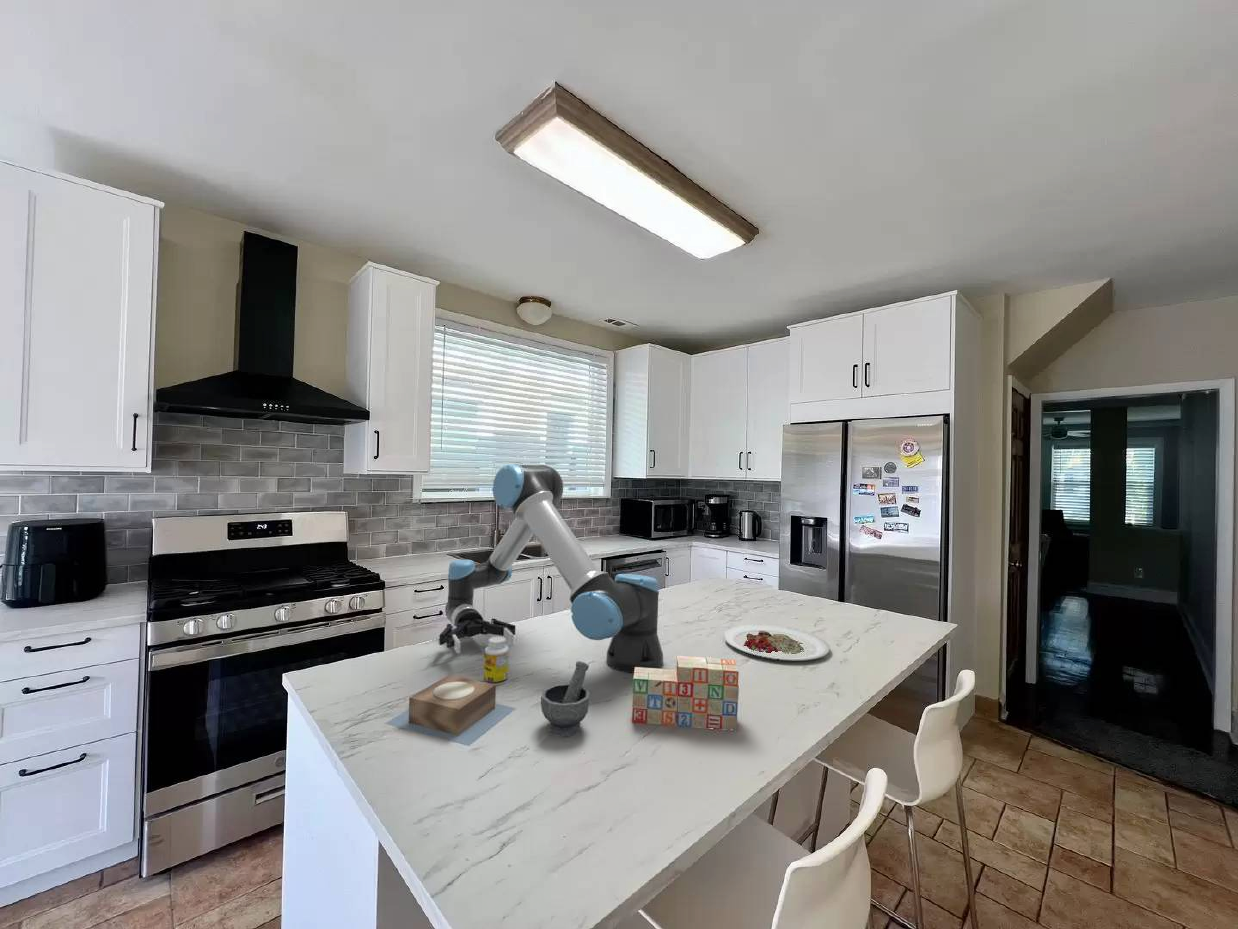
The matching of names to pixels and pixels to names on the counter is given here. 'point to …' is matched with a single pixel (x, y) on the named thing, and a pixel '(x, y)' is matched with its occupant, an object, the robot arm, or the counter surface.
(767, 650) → the plated food
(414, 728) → the mat
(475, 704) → the foundation block
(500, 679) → the supplement bottle
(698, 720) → the stack of blocks
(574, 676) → the mortar and pestle
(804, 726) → the counter surface
